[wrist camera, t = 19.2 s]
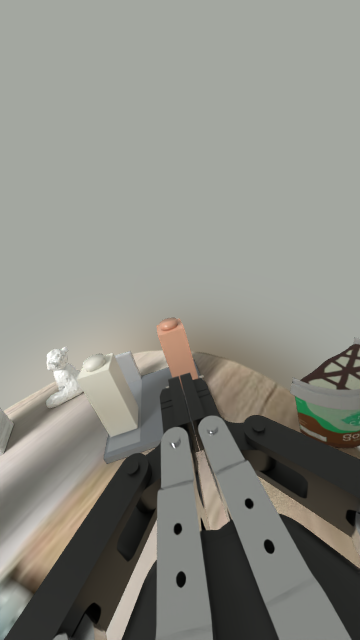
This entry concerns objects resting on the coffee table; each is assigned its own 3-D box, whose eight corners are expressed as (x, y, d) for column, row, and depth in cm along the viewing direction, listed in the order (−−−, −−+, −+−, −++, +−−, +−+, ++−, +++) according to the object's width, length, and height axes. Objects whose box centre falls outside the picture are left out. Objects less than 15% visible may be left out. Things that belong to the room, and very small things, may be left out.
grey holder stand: (106, 463, 30) (82, 426, 27) (119, 387, 46) (105, 358, 43) (223, 423, 31) (213, 383, 28) (197, 362, 47) (188, 332, 43)
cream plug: (110, 437, 32) (73, 373, 27) (114, 414, 36) (82, 356, 31) (137, 428, 33) (105, 363, 27) (138, 407, 37) (110, 347, 32)
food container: (344, 483, 21) (351, 417, 17) (292, 437, 27) (289, 379, 23) (408, 421, 25) (426, 355, 21) (351, 392, 30) (357, 335, 26)
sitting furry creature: (67, 381, 54) (44, 344, 49) (97, 374, 53) (77, 335, 49) (47, 410, 45) (16, 368, 41) (82, 402, 45) (55, 358, 40)
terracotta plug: (177, 390, 38) (156, 330, 33) (173, 375, 42) (154, 320, 37) (199, 382, 38) (182, 322, 33) (194, 369, 42) (178, 313, 37)
